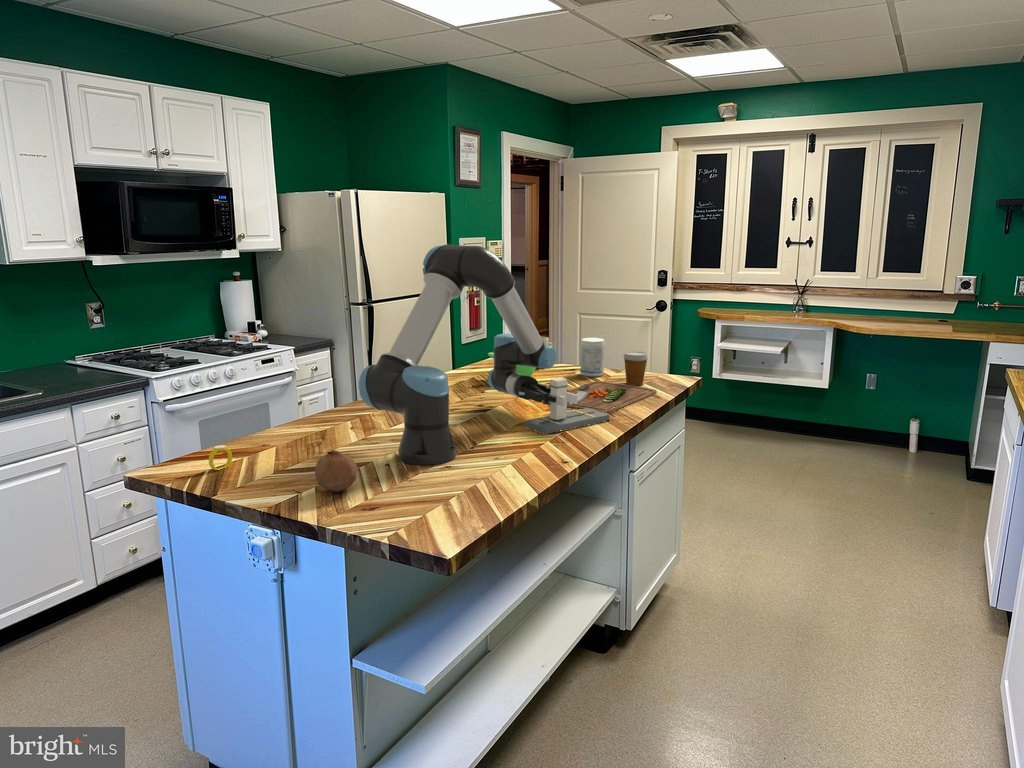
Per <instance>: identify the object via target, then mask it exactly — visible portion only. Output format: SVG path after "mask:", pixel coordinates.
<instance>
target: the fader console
mask: <svg viewBox="0 0 1024 768" xmlns="http://www.w3.org/2000/svg"><path fill="white" fill-rule="evenodd" d="M607 420H609V421H610V414H606V413H602V412H599V411H596V410H592V409H589V408H586V409H581V410H578V409H576V410H575V411H571V410H570V411H567V418H564V419H559V420H555V419H552V418H550V415H547V416H541V417H536V418H532V419H526V420H524V426H523V427H524V428H526V427H527V428H526V429H529V428H530V429H529V430H531V429H533V430H532V431H534V430H536V431H535V432H537V431H538V432H537V433H539V432H541V433H540V434H542V433H544V434H543V435H545V434H546V435H549V434H548V433H551V434H554V433H553V432H555V433H558V432H557V431H560V430H565V429H569V430H571V429H570V428H574V427H578V426H583V427H585V426H584V425H588V424H592V425H594V424H593V423H597V424H599V423H598V422H601V423H604V422H603V421H606V422H608V421H607ZM588 426H589V425H588ZM578 428H579V427H578ZM574 429H575V428H574ZM565 431H566V430H565ZM560 432H561V431H560Z"/></svg>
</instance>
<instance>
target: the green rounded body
mask: <svg viewBox="0 0 1024 768" xmlns="http://www.w3.org/2000/svg"><path fill="white" fill-rule="evenodd" d="M487 355H488V357H490V358H491V359H493V360H494V351H492V352H488V353H487ZM536 369H537V368H535V367H529V366H522V365H517V368H516V373H520V374H523V375H526V376H530V377H532V376H533V375H534V373H535V371H536Z"/></svg>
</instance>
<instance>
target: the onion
mask: <svg viewBox="0 0 1024 768" xmlns="http://www.w3.org/2000/svg"><path fill="white" fill-rule="evenodd" d="M358 472H359V471H358V465H357V463H356V461H355V460H354V459H353V458H352V457H351V456H349V455H347V454H344V453H342V452H341V451H339V450H336V449H330V450H329V451H327V452H326V454H324V455H323V456H321V457H320V458H319V459H318V461H317V462H316V464H315V468H314V476H315V477H314V478H315V480H316V482H317V484H318V485H319V486H320V487H321V488H323V489H325V490H328V491H330V492H332V493H341V492H344V491H346V490H347V489H349V488H350V487H352V486H353V484H354V483H355V482H356V480H357V478H358V477H357V476H358V474H359V473H358Z"/></svg>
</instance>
